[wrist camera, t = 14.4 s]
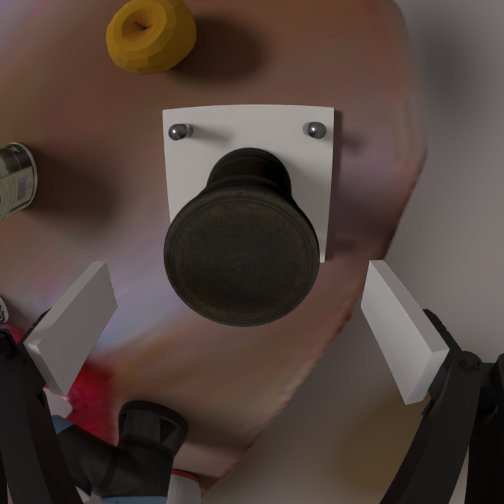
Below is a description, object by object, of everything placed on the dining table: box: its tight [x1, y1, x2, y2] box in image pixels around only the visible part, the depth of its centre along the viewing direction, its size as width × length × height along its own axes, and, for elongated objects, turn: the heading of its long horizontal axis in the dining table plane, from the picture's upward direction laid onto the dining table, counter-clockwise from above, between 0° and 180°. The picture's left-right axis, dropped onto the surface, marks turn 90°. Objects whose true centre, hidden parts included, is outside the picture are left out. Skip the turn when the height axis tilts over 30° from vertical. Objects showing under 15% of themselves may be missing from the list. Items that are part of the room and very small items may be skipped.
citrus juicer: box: [166, 469, 201, 504], centre depth 59 cm, size 16×17×20 cm
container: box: [164, 147, 320, 327], centre depth 24 cm, size 9×9×18 cm
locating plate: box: [163, 105, 334, 262], centre depth 30 cm, size 18×18×5 cm
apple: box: [106, 0, 196, 75], centre depth 22 cm, size 9×9×9 cm
